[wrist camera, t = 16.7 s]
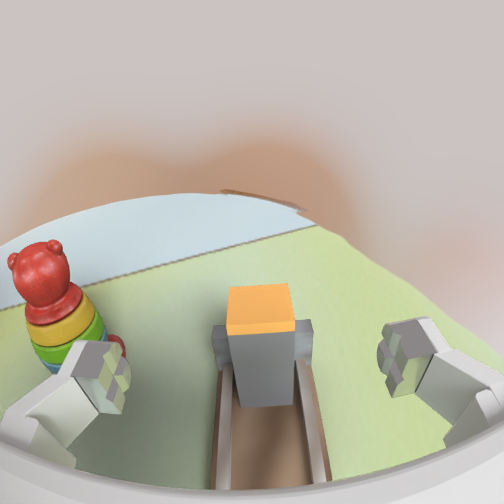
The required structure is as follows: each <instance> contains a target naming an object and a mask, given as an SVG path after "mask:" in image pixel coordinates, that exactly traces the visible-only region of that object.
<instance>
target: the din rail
mask: <svg viewBox="0 0 504 504" xmlns="http://www.w3.org/2000/svg"><path fill="white" fill-rule="evenodd" d="M313 333H314V332H313V328H312V324H311V320H310V319H306V320H295V353H294V386H293V405H282V406H268V407H251V408H241V405H240V400H239V395H238V390H237V384H236V379H235V374H234V368H233V363H232V357H231V352H230V346H229V340H228V334H227V329H226V325H221V326H213V331H212V344H213V348H214V353H215V357H216V361H217V366H218V370H219V376H218V387H217V399H216V411H215V423H214V436H213V450H212V464H211V478H210V490H254V489H271V488H283V487H293V486H302V485H309V484H316V483H323V482H329V481H332V475H331V469H330V463H329V457H328V452H327V446H326V440H325V435H324V429H323V424H322V419H321V413H320V408H319V403H318V398H317V393H316V388H315V383H314V378H313V373H312V368H311V359H312V346H313Z"/></svg>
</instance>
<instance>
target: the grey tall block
mask: <svg viewBox="0 0 504 504" xmlns="http://www.w3.org/2000/svg"><path fill="white" fill-rule="evenodd" d="M226 329H227V334H228V340H229V346H230V352H231V357H232V363H233V368H234V374H235V379H236V384H237V390H238V395H239V400H240V405H241V408H251V407H268V406H282V405H293V386H294V353H295V318H294V313H293V307H292V302H291V297H290V292H289V287H288V283H285V284H271V285H258V286H243V287H229V297H228V308H227V320H226Z"/></svg>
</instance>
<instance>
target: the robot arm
mask: <svg viewBox="0 0 504 504" xmlns="http://www.w3.org/2000/svg"><path fill="white" fill-rule="evenodd" d="M382 335H383V338H384V339H383V340H382V341H381V342H380V343H379V345H378V349H377V362H378V366H379V368H380V371H381V372H382V373H384V374H385V375H387V379H386V381H385V383H386V386H387V388H388V390H389V393H390V395H391V398H395V397H400V396H404V395H408V394H412V393H415V395H417V396H418V397H419V398H420V399H421V400H423V401H424V402H425V403H426V404H428V405H429V406H430V407H431V408H432V409H434V410H435V411H436V412H437V413H438V414H440V415H441V416H442V417H443V418H445V419H446V420H447V421H448V422H449V423H451V424H452V425H453V426H452V427H451V428H450V430H449V431H448V432H447V433H446V434H445V436H444V438H443V441H444V443H445V446H446V448H444V449H442V450H439V451H437V452H434V453H432V454H429V455H426V456H423V457H421V458H418V459H415V460H412V461H409V462H406V463H403V464H399V465H396V466H393V467H389V468H386V469H382V470H379V471H375V472H371V473H367V474H363V475H358V476H354V477H349V478H345V479H339V480H334V481H329V482H323V483H316V484H309V485H302V486H293V487H283V488H271V489H254V490H205V489H187V488H175V487H166V486H157V485H150V484H143V483H136V482H131V481H125V480H120V479H115V478H110V477H105V476H101V475H97V474H93V473H89V472H85V471H81V470H78V469H75V466H76V463H77V459H76V457H75V456H74V455H73V454H72V453H70V452H69V451H68V450H67V449H66V448H67V447H68V446H69V445H70V444H71V443H72V442H73V441H74V440H75V439H76V438H77V437H78V436H79V435H80V433H81V432H82V431H83V430H84V429H85V428H86V427H87V426H88V425H89V424H90V423H91V422H92V421H93V420H94V419H95V417H96V416H97V415H98V414H99V413H98V412H100V413H109V414H119V415H121V414H122V410H123V407H124V404H125V400H126V397H125V395H124V392H125V391H126V390H127V389H128V388H129V387H130V383H131V368H130V365H129V363H128V361H127V360H126V359H125V358H124V357H122V356H121V354H122V351H123V350H122V348H121V346H120V344H119V343H117V342H107V341H93V340H90V341H89V340H76V341H75V342H74V343H73V345H72V347H71V349H70V351H69V353H68V354H67V356H66V358H65V360H64V362H63V364H62V366H61V368H60V370H59V372H58V374H57V375H56V374H53V375H52V376H50V377H49V378H48V379H46V380H45V381H44V382H42V383H41V384H40V385H38V386H37V387H35V388H34V389H33V390H31V391H30V392H29V393H27V394H26V395H25V396H23V397H22V398H21V399H19V400H18V401H16V402H15V403H14V404H12V405H11V406H10V407H8V408H7V410H6V412H5V414H4V416H3V418H2V420H1V422H0V504H504V375H502V374H501V373H499V372H497V371H495V370H493V369H492V368H490V367H488V366H486V365H484V364H483V363H481V362H479V361H477V360H475V359H473V358H472V357H470V356H468V355H466V354H464V353H463V352H461V351H459V350H457V349H455V348H454V349H451V348H450V346H449V345H448V343H447V342H446V340H445V339H444V337H443V336H442V334H441V333H440V331H439V330H438V328H437V327H436V325H435V324H434V323H433V321H432V320H431V318H430V317H428V316H423V317H419V318H414V319H409V320H404V321H398V322H393V323H387V324H385V325H384V327H383V330H382Z"/></svg>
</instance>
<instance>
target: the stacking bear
mask: <svg viewBox="0 0 504 504" xmlns="http://www.w3.org/2000/svg"><path fill="white" fill-rule="evenodd" d="M62 250H63V247H62V244H61V243H60V242H59V241H57V240H49V241H48V242H38V243H34V244H31V245H29V246H27V247H25V248H24V249H23V250H22V251H21V252H20V253H12V254H10V256H9V257H8V260H7V264H8V267H9V268H10V270H12V275H13V281H14V284H15V287H16V289H17V291H18V292H19V294H20V295H21V296H22V297H23V298H24V299H25V300H26V301H27V303H26V307H25V316H26V324H27V329H28V332H29V335H30V338H31V342H32V345H33V347H34V350H35V352H36V354H37V355H38V357H39V358H40V360H41V361H42V363H43V364H44V365H45V366H46V367H47V368H48V369H49V370H50V371H51V372H52V373H53V374H56V375H57V374H58V372H59V370H60V368H61V366H62V364H63V362H64V360H65V358H66V356H67V354H68V353H69V351H70V349H71V347H72V345H73V343H74V342H75V341H76V340H89V341H90V340H93V341H107V342H117V343H119V344H120V346H121V348H122V350H123V351H122V354H121V356H122V357H124V358H125V348H124V344H123V342H122V340H121V339H120V338H119V337H118V336H115V335H107V332H106V329H105V325H104V323H103V321H102V318H101V316H100V315H99V313H98V311H97V310H96V308H95V307H94V306H93V304H92V302H91V301H90V299H89V298H88V297H87V295H86V294H85V293H84V292H83V291H82V290H81V289H80V288H79V287H78V286H77V285H76V284H74V283H72V282H70V270H69V265H68V261H67V258H66V256H65V254H64V252H63V251H62Z"/></svg>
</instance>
